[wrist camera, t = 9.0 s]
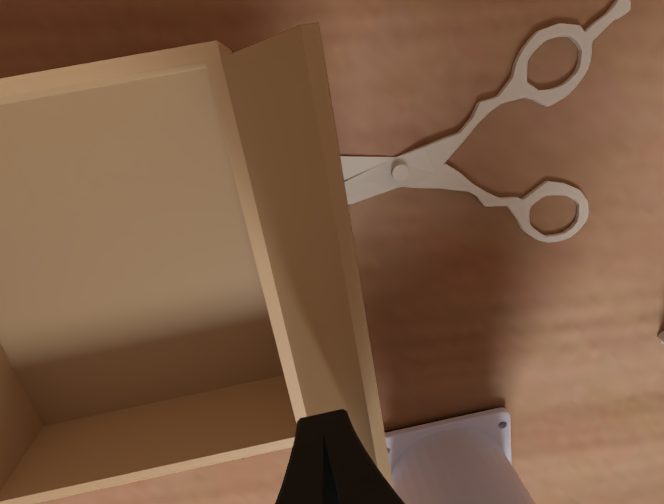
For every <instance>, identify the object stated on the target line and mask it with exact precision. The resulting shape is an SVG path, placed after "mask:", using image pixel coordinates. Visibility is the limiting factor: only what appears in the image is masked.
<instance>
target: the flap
mask: <svg viewBox="0 0 664 504" xmlns="http://www.w3.org/2000/svg"><path fill="white" fill-rule="evenodd" d="M221 61H222V65H223V69H224V73H225V77H226V82H227V86H228V90H229V94H230V98H231V102H232V107H233V111H234V115H235V119H236V123H237V127H238V132H239V136H240V140H241V144H242V148H243V153H244V157H245V161H246V165H247V169H248V173H249V178H250V182H251V186H252V190H253V194H254V198H255V203H256V207H257V211H258V215H259V219H260V223H261V228H262V232H263V236H264V240H265V244H266V248H267V253H268V257H269V261H270V265H271V269H272V274H273V278H274V282H275V286H276V290H277V294H278V299H279V303H280V307H281V311H282V315H283V319H284V324H285V328H286V332H287V336H288V340H289V344H290V349H291V353H292V357H293V361H294V365H295V369H296V374H297V378H298V382H299V386H300V390H301V395H302V399H303V403H304V407H305V411H306V415H307V417H308V416H312V415H317V414H321V413H326V412H331V411H335V410H340V409H344V410H346V411H347V412H348V416H349V418H350V421H351V423H352V426H353V428H354V430H355V432H356V434H357V435H358V437H359V439H360V441H361V443H362V444H363V446H364V448H365V449H366V451H367V453H368V454H369V456H370V457H371V459H372V460H373V462H374V463H375V465H376V466H377V468H378V469H379V471H380V472H381V473H382V475H383V476H384V478H385V479H386V480H387V481H388V483H389V484H390V485H391V487H392V488H393V482H392V476H391V470H390V464H389V457H388V451H387V445H386V439H385V432H384V426H383V420H382V414H381V407H380V401H379V395H378V389H377V383H376V376H375V370H374V364H373V358H372V351H371V345H370V339H369V333H368V326H367V320H366V314H365V308H364V301H363V295H362V289H361V283H360V276H359V270H358V264H357V258H356V252H355V245H354V239H353V233H352V227H351V220H350V214H349V208H348V202H347V195H346V189H345V183H344V177H343V170H342V164H341V158H340V152H339V145H338V139H337V133H336V127H335V120H334V114H333V108H332V102H331V96H330V89H329V83H328V77H327V71H326V64H325V58H324V52H323V46H322V39H321V33H320V27H319V22H318V23H311V24H303V25H299V26H296V27H294V28H292V29H289V30H287V31H284V32H282V33H280V34H277V35H275V36H272V37H270V38H268V39H265V40H263V41H260V42H258V43H256V44H253V45H251V46H248V47H246V48H244V49H241V50H239V51H236V52H234V53H232V54H229V55H227V56H224V57H222V58H221Z"/></svg>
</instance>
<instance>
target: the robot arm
mask: <svg viewBox="0 0 664 504" xmlns="http://www.w3.org/2000/svg"><path fill="white" fill-rule="evenodd" d="M500 422H502V423H500ZM499 423H500V424H499ZM385 439H386V445H387V451H388V457H389V464H390V470H391V476H392V482H393V488H392V487H391V485H390V484H389V483H388V481H387V480H386V479H385V478H384V476H383V475H382V473H381V472H380V471H379V469H378V468H377V466H376V465H375V463H374V462H373V460H372V459H371V457H370V456H369V454H368V453H367V451H366V449H365V448H364V446H363V444H362V443H361V441H360V439H359V437H358V435H357V434H356V432H355V430H354V428H353V426H352V423H351V421H350V418H349V416H348V412H347V411H346V410H344V409H340V410H335V411H331V412H326V413H321V414H317V415H312V416H308V417H303V418H300V419H299V420H298V421H297V426H296V433H295V439H294V443H293V448H292V452H291V456H290V460H289V463H288V467H287V470H286V473H285V477H284V480H283V483H282V486H281V489H280V492H279V495H278V498H277V500H276V503H275V504H535V502H534V501H533V499H532V498H531V496H530V494H529V493H528V491H527V489H526V488H525V486H524V484H523V483H522V481H521V479H520V478H519V476H518V475H517V473H516V471H515V470H514V468H513V466H512V465H511V424H510V413H509V412H508V411H507V409H506V408H503V407H501V408H495V409H491V410H486V411H482V412H477V413H473V414H468V415H464V416H459V417H454V418H450V419H445V420H441V421H436V422H432V423H427V424H423V425H418V426H414V427H409V428H405V429H400V430H396V431H391V432H386V433H385Z"/></svg>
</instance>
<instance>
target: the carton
mask: <svg viewBox="0 0 664 504" xmlns="http://www.w3.org/2000/svg"><path fill="white" fill-rule="evenodd" d="M229 54H232V50H231V49H229V48H228V47H226V46H225V45H223V44H222V43H220V42H219V41H217V40H215V41H210V42H204V43H198V44H193V45H187V46H181V47H176V48H170V49H164V50H159V51H153V52H147V53H142V54H136V55H130V56H125V57H119V58H113V59H108V60H102V61H96V62H91V63H85V64H79V65H74V66H68V67H62V68H57V69H51V70H45V71H39V72H34V73H28V74H22V75H17V76H11V77H5V78H0V504H35V503H40V502H44V501H49V500H53V499H58V498H62V497H67V496H72V495H76V494H81V493H85V492H90V491H94V490H99V489H103V488H108V487H112V486H117V485H122V484H126V483H131V482H135V481H140V480H144V479H149V478H153V477H158V476H163V475H167V474H172V473H176V472H181V471H185V470H190V469H194V468H199V467H203V466H208V465H213V464H217V463H222V462H226V461H231V460H235V459H240V458H244V457H249V456H253V455H258V454H263V453H267V452H272V451H276V450H281V449H285V448H290V447H293V443H294V439H295V433H296V426H297V421H298V420H299V419H300V418H303V417H307V415H306V411H305V407H304V403H303V399H302V395H301V390H300V386H299V382H298V378H297V374H296V369H295V365H294V361H293V357H292V353H291V349H290V344H289V340H288V336H287V332H286V328H285V324H284V319H283V315H282V311H281V307H280V303H279V299H278V294H277V290H276V286H275V282H274V278H273V274H272V269H271V265H270V261H269V257H268V253H267V248H266V244H265V240H264V236H263V232H262V228H261V223H260V219H259V215H258V211H257V207H256V203H255V198H254V194H253V190H252V186H251V182H250V178H249V173H248V169H247V165H246V161H245V157H244V153H243V148H242V144H241V140H240V136H239V132H238V127H237V123H236V119H235V115H234V111H233V107H232V102H231V98H230V94H229V90H228V86H227V82H226V77H225V73H224V69H223V65H222V61H221V58H222V57H224V56H227V55H229Z"/></svg>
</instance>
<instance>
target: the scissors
mask: <svg viewBox="0 0 664 504" xmlns="http://www.w3.org/2000/svg"><path fill="white" fill-rule="evenodd" d="M630 10H631V2H630V0H615V1H614V3H613V4H612V5H611V7H610V8H609V9H608V10H607V11H606V13H605V14H604V15H602V16H601V17H600V18H598V19H597V20H596V21H594V22H593V23H592V24H591V25H589V26H588V27H587V28H586V29H585V30H583V29H582V27H581V26H580V25H573V24H563V23H558V24H555V25H552V26H549V27H547V28H544V29H541V30H539V31H536V32H534V34H533V35H532V36H531V37H530V38H529V39H528V40H527V41H526V43H525V44H524V45H523V47H522V48H521V49H520V50H519V53H518V55H517V57H516V59H515V61H514V63H513V67H512V71H511V75H510V78H509V80H508V81H507V82H506V84H505V85H504V86H503V87H502V89H501V90H500V91H499V93H498V94H497V95H496V97H493V98H490V99H486V100H482V101H479V102H477V103H476V105H475V108H474V110H473V112H472V114H471V117H470V118H469V119H468V121H467V122H466V123H465V124H464V125H463V126H462V128H461V129H460V130H459V131H458V132H457V133H455V134H452V135H449V136H446V137H444V138H441V139H438V140H436V141H433V142H431V143H429V144H426V145H424V146H421V147H419V148H416V149H414V150H412V151H409V152H407V153H404V154H402V155H399V156H397V157H367V156H340V158H341V164H342V170H343V177H344V180H347V181H345V182H344V183H345V189H346V195H347V202H348V205H350V204H353V203H356V202H359V201H362V200H364V199H367V198H370V197H373V196H376V195H379V194H382V193H385V192H387V191H390V190H393V189H396V188H398V187H409V188H439V189H449V190H456V191H468V192H470V193H472V194H474V195H475V196H476V197H477V198H478V200H479V201H480V202H481V204H482V205H483V206H485V207H492V206H506V207H507V208H508V209H509V210H510V212H511V213H512V214H513V216H514V217H515V218H516V220H517V222H518V225H519V227H520V228H521V229H522V230H523V231H524V232H525V233H527V234H528V235H530V236H531V237H533V238H535V239H536V240H538V241H542V242H547V243H553V242H559V241H563V240H566V239H568V238H570V237H572V236H573V235H574V234H575V233H576V232H578V231H579V230H580V229H581V228H582V226H583V225H584V224H585V223H586V221H587V218H588V214H589V210H588V201H587V200H586V198H585V197H584V195H583V193H582V192H581V190H579V189H577V188H574V187H572V186H570V185H567V184H565V183H562V182H554V181H544V182H542V183H541V184H540V185H538V186H537V187H536V188H534V189H533V190H532V191H530V192H529V193H528V194H527V195H525V196H524V197H523V198H521V199H520V198H518V197H516V196H511V197H500V198H498V197H496V196H494V195H492V194H490V193H488V192H486V191H484V190H482V189H481V188H479V187H477V186H476V185H474V184H473V183H471V182H470V181H469V180H468V179H467V178H466V177H465V176H463V175H462V174H461V173H460V172H458V171H457V170H455V169H453V168H452V167H450V166H449V165H447V164H445V162H446V161H447V160H448V158H449V157H450V156H451V155H452V154H453V153H454V152H455V150H456V149H457V148H458V147H459V146H460V145H461V144H462V142H463V141H464V140H465V139H466V138H467V137H468V135H469V134H470V133H471V132H472V130H473V129H474V128H475V127H476V125H477V124H478V123H479V122H480V121H481V120H482V119H483V118H484V117H485V116H486V115H487V114H488V113H489V112H491V111H492V110H493V109H495V108H496V107H498V106H499V105H500V104H503V103H506V102H510V101H514V100H518V99H521V98H526V99H530V100H532V101H534V102H536V103H538V104H540V105H543V106H545V107H549V106H551V105H553V104H555V103H556V102H558V101H560V100H562V99H563V98H565V97H566V96H568V95H569V93H570V92H571V91H572V90H573V89H574V88H575V87H576V86H577V85H578V84H579V83H580V81H581V80H582V78H583V77H584V75H585V74H586V73H587V71H588V68H589V65H590V62H591V53H592V42H593V40H594V39H595V38H596V37H597V36H598V35H599V34H600V33H601V32H602V31H603V30H604V29H605V28H606V27H607V26H608V25H609V24H610V23H611V22H612V21H613V20H616V19H619V18H621V17H622V16H623V15H625V14H626V13H627V12H629V11H630ZM556 37H568V38H569V39H570V40H571V41H572V42H574V44H575V46H576V47H577V49H578V59H577V66H576V68H575V70H574V72H573V74H572V75H571V76H570V77H569V78H568V79H567V80H566V81H565V82H564V83H562V84H561V85H559V86H556V87H553V88H550V89H547V90H538V89H536V88H535V87H534V86H532V85H531V84H529V83H528V82H527V63H528V60H529V58H530V57H531V55H532V54H533V52H534V51H535V50H536V49H537V48H538V47H539V46H540V45H541V44H542V43H544V42H545V41H547V40H549V39H552V38H556ZM551 195H565V196H567V197H569V198H571V199H573V200H574V201H575V202H576V203H577V211H576V217H575V221H574V222H573V223H572V225H571V226H570V227H569V228H567V229H566V230H564V231H563V232H561V233H556V234H550V235H543V234H541V233H540V232H538V231H537V230H535V229H534V228H533V227H532V226H531V225H530V218H529V211H530V209H531V207H532V205H533V204H534V203H536V202H537V201H539V200H540V199H541V198H543V197H544V196H551Z"/></svg>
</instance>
